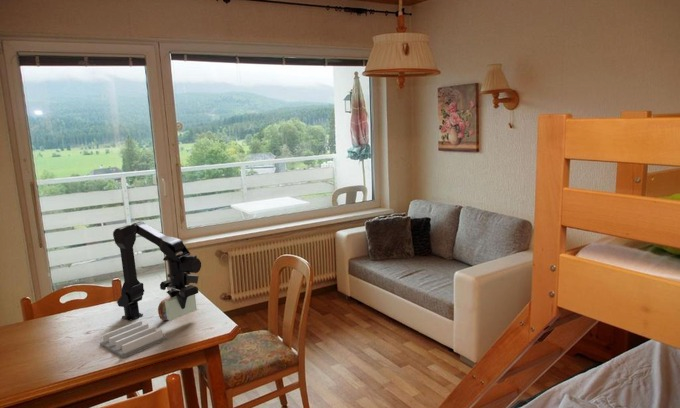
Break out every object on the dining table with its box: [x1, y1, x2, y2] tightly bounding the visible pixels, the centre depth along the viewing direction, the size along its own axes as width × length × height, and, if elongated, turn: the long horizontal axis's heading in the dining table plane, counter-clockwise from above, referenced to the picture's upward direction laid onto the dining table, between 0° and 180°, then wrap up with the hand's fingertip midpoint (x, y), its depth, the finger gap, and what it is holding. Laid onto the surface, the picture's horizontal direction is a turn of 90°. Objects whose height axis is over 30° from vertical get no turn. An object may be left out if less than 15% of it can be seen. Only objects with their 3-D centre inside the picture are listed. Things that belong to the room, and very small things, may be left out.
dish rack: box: [99, 320, 168, 359], centre depth 179 cm, size 18×17×4 cm
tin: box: [157, 295, 171, 321], centre depth 201 cm, size 15×3×8 cm, turn 168°
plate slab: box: [165, 294, 197, 321], centre depth 192 cm, size 2×12×8 cm, turn 141°
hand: (181, 307), depth 192 cm, fingers closed on plate slab, 2 cm apart
